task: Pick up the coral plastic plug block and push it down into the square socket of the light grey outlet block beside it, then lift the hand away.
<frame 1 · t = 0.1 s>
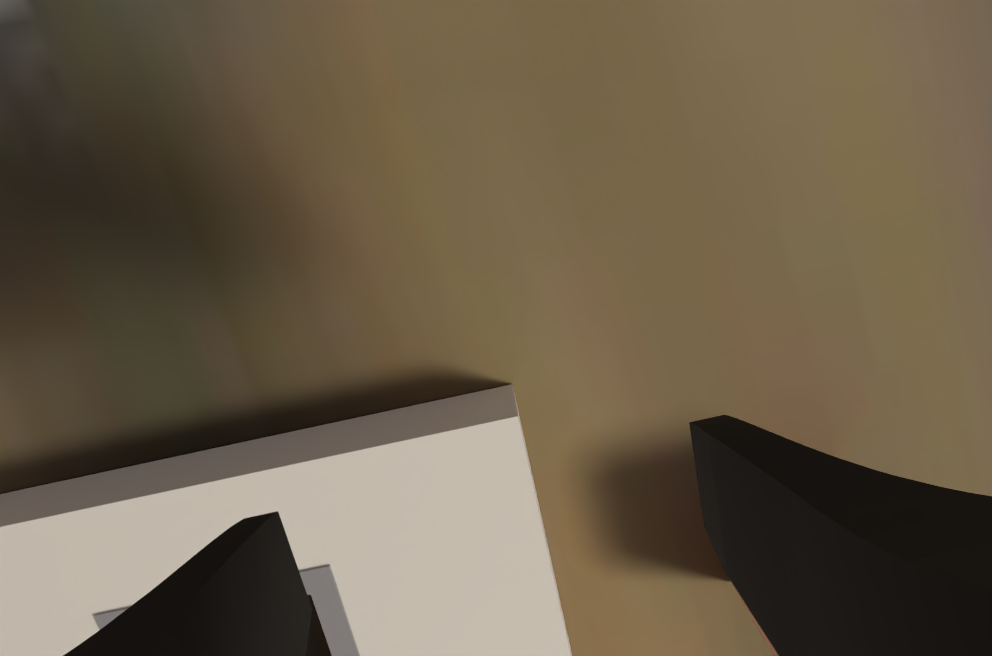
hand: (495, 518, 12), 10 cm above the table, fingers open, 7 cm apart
outlet block: (271, 628, 24), on the table
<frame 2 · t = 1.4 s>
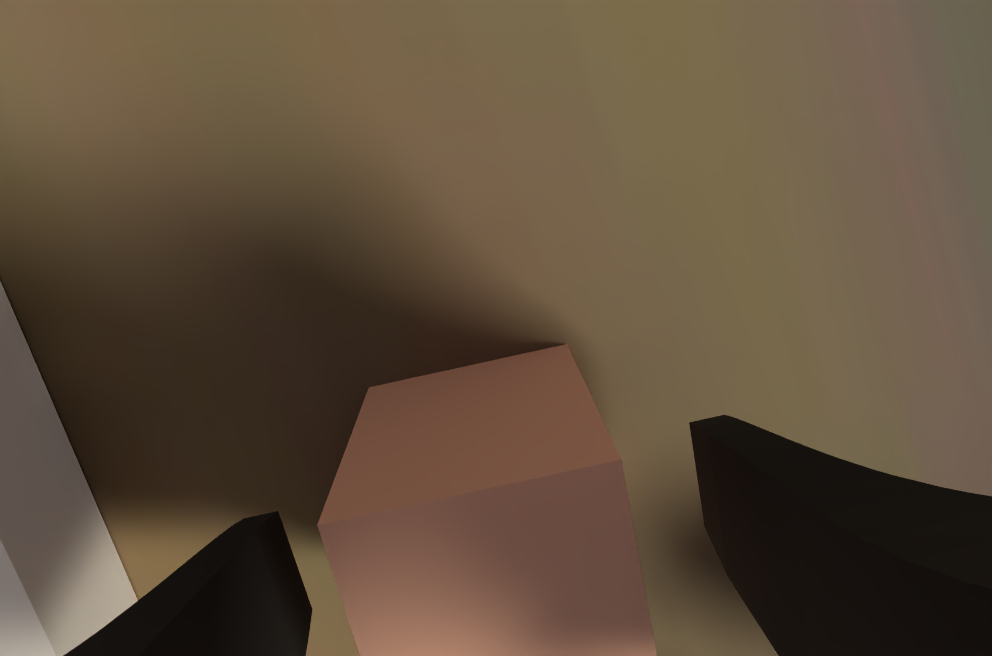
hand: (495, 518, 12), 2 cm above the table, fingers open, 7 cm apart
plug block: (489, 454, 14), on the table
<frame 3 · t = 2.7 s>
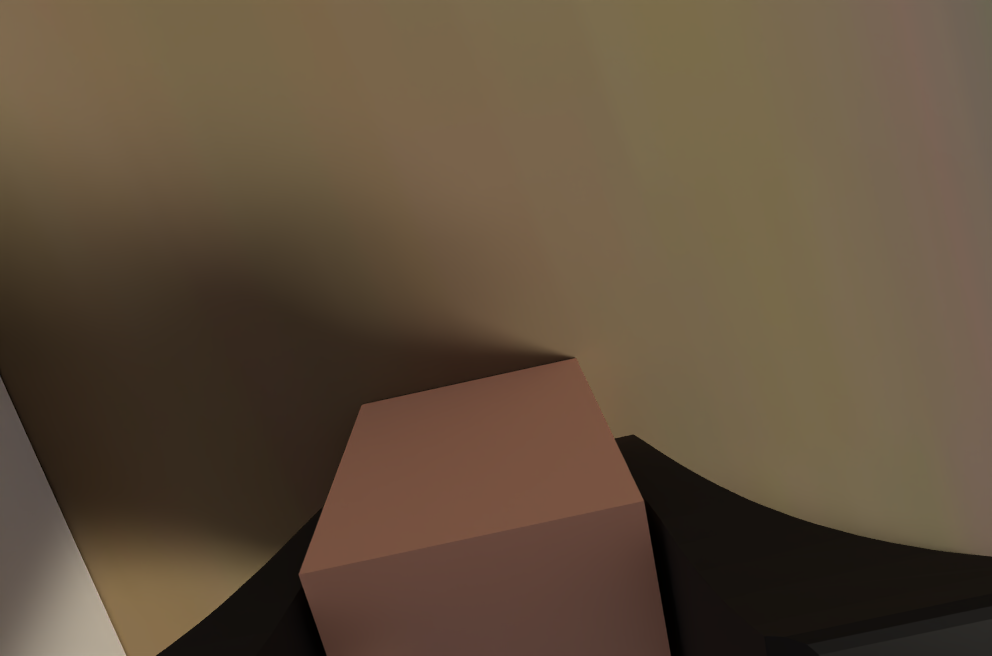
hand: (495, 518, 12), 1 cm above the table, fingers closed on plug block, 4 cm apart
plug block: (491, 477, 13), on the table, touching gripper
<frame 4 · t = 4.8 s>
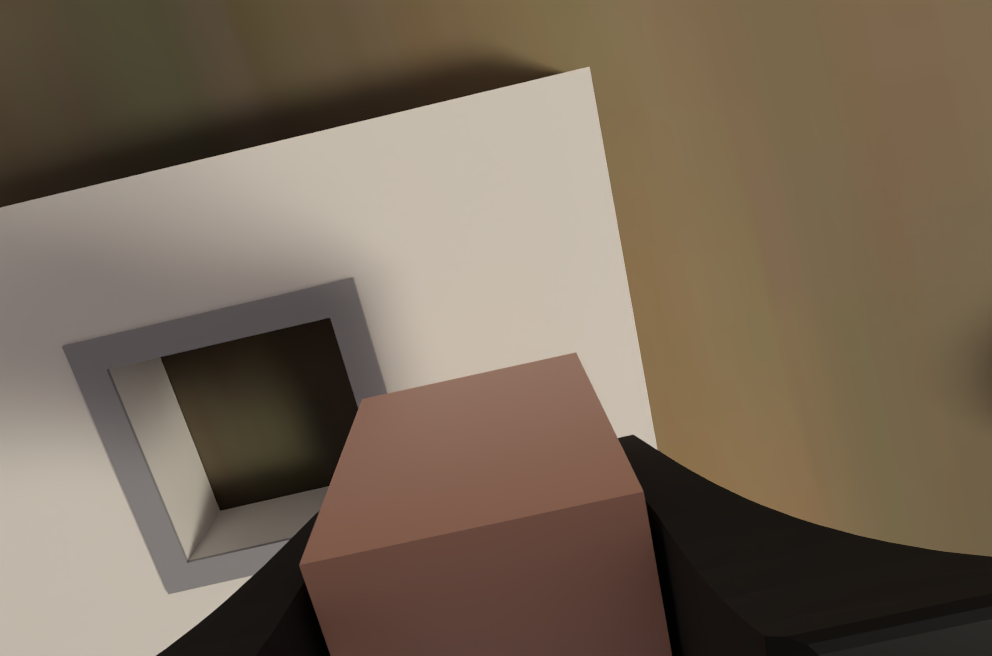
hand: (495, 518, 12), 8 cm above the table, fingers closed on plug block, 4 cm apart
outlet block: (281, 406, 20), on the table
plug block: (492, 471, 13), point 7 cm above the table, touching gripper
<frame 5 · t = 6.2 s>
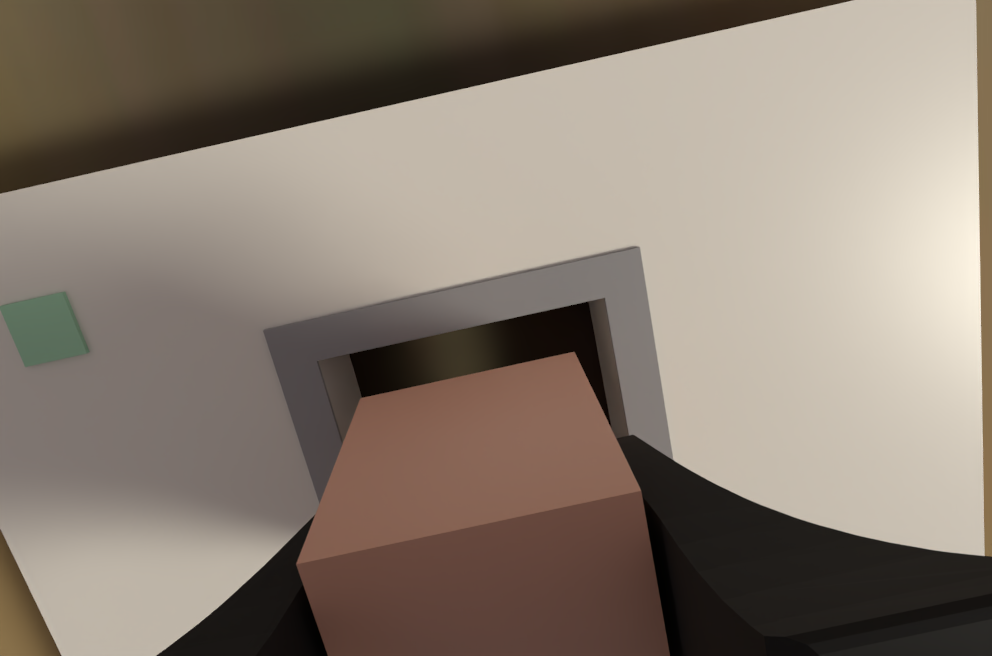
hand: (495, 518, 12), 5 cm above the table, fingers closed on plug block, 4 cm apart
outlet block: (487, 409, 16), on the table
plug block: (490, 471, 13), point 3 cm above the table, touching gripper
when the fingers open (3 cm above the table, at t = 7.4 s): plug block drops 2 cm, resting in outlet block.
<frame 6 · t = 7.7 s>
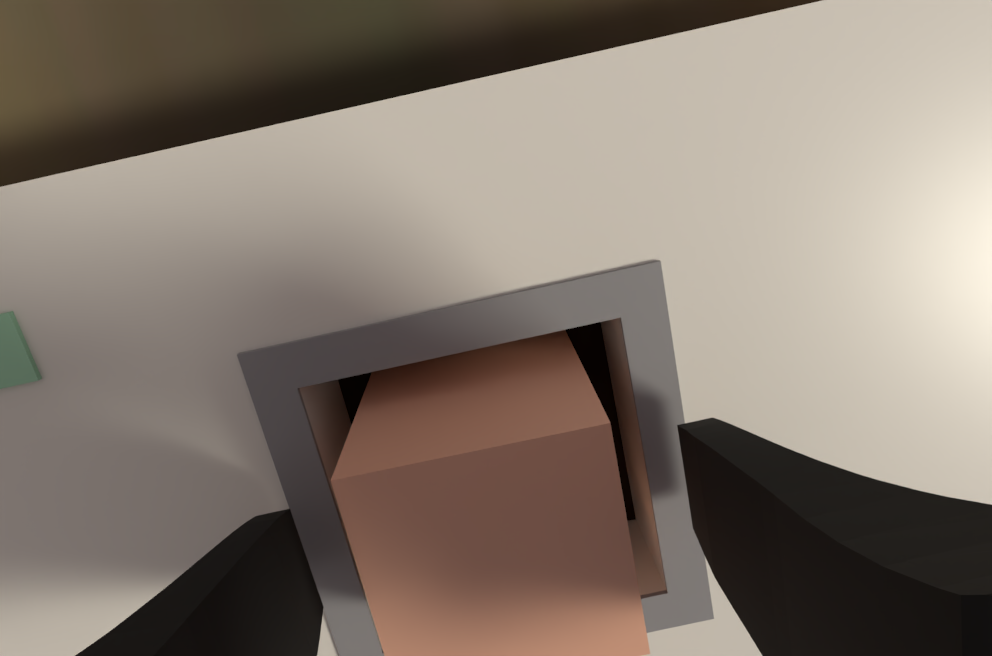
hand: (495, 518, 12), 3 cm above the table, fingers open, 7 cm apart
outlet block: (488, 435, 15), on the table
plug block: (488, 429, 15), resting in outlet block
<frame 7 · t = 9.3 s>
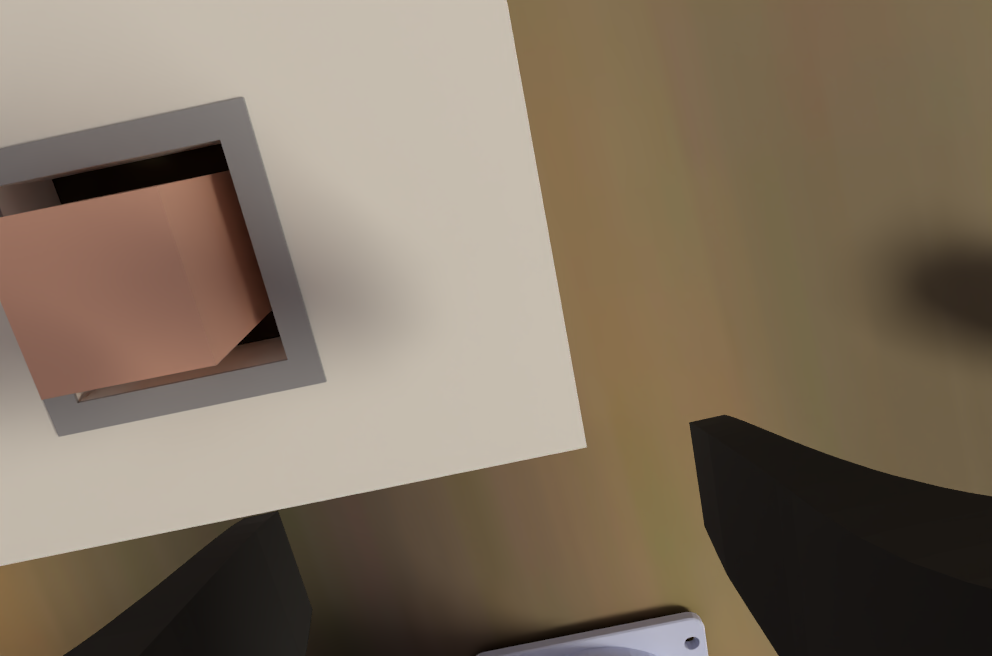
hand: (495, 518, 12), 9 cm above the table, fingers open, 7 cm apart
outlet block: (185, 258, 20), on the table
plug block: (185, 254, 20), resting in outlet block
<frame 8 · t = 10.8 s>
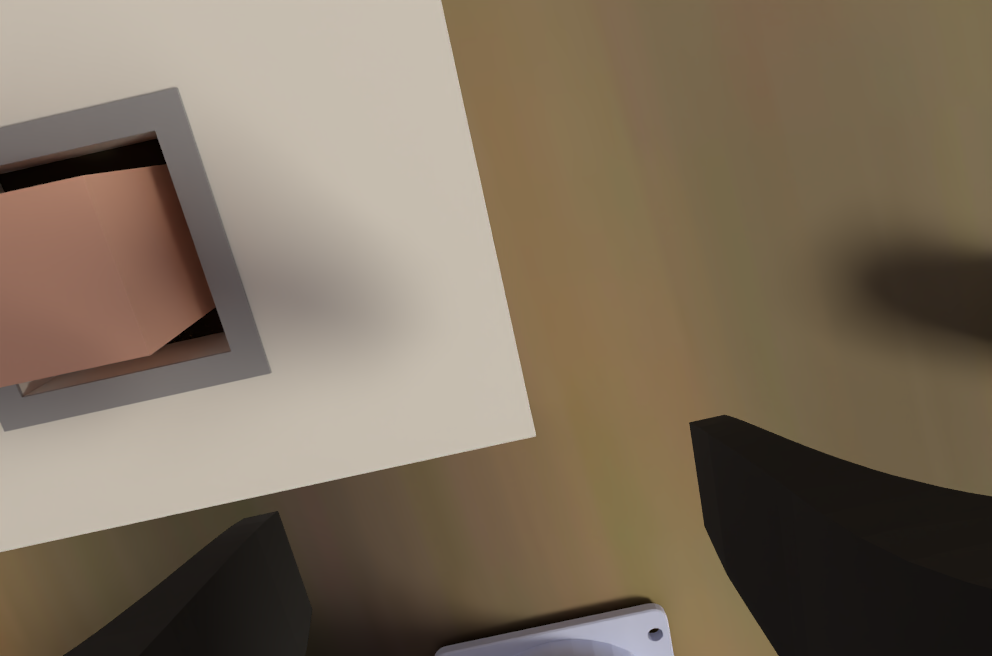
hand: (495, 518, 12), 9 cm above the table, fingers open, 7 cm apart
outlet block: (133, 252, 20), on the table
plug block: (133, 248, 20), resting in outlet block
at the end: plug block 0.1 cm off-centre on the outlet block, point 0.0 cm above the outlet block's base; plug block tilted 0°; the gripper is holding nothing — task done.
